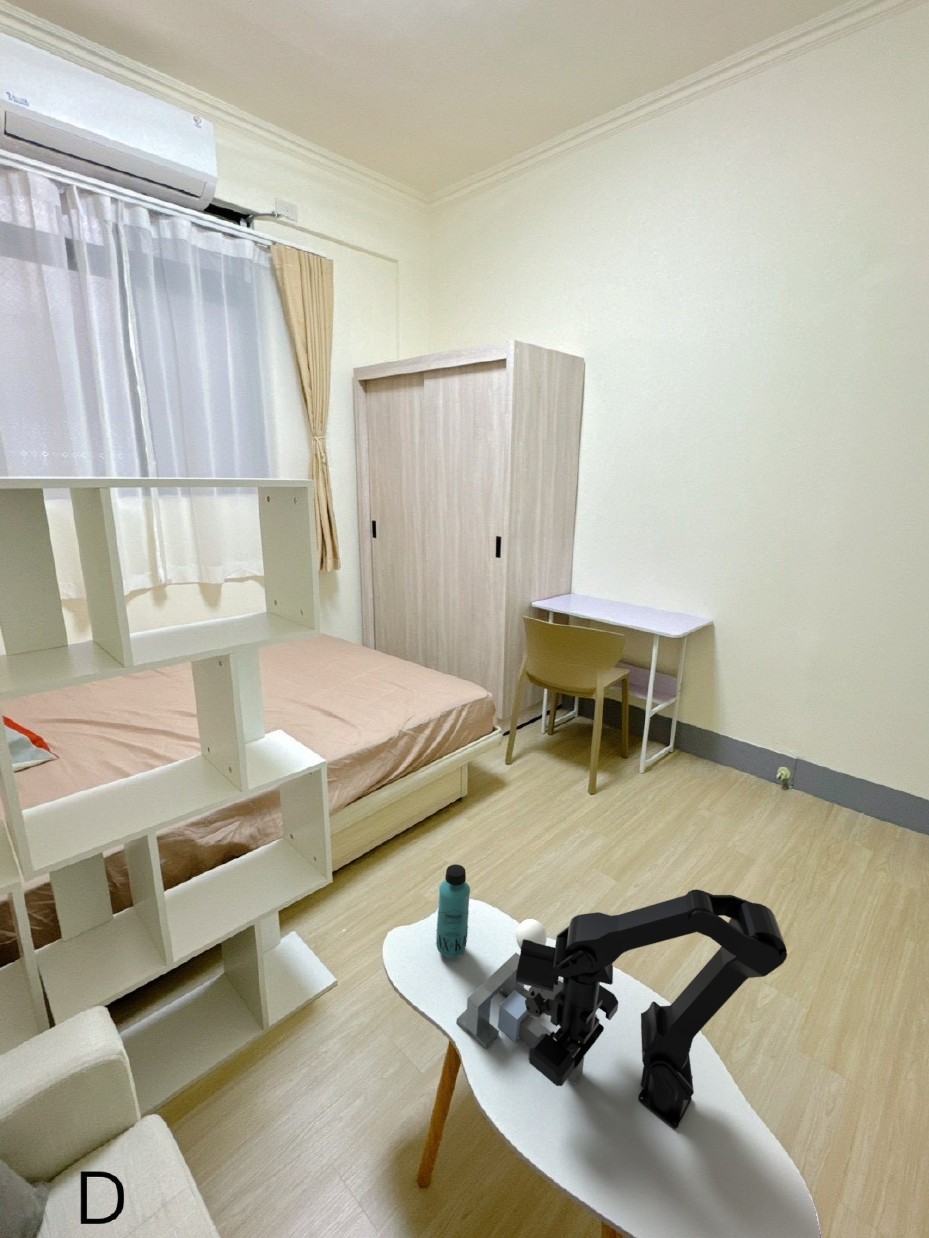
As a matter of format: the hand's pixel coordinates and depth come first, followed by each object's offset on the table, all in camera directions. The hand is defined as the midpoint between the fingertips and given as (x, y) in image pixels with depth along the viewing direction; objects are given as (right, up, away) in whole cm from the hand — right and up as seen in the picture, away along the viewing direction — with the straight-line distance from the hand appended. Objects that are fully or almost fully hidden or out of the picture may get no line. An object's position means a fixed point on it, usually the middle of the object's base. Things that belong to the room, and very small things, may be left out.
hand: (570, 1067), depth 97 cm
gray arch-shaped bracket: (-12, +2, +11) cm, 16 cm away
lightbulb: (-5, +4, +20) cm, 21 cm away
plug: (-5, 0, +5) cm, 7 cm away
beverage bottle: (-21, +6, +24) cm, 32 cm away
